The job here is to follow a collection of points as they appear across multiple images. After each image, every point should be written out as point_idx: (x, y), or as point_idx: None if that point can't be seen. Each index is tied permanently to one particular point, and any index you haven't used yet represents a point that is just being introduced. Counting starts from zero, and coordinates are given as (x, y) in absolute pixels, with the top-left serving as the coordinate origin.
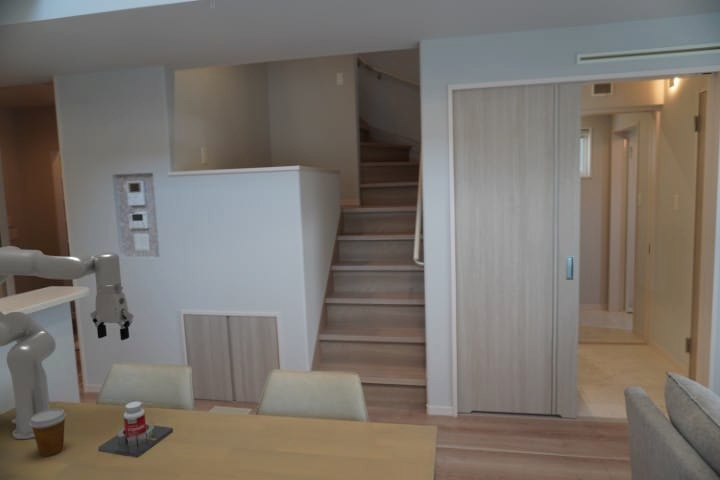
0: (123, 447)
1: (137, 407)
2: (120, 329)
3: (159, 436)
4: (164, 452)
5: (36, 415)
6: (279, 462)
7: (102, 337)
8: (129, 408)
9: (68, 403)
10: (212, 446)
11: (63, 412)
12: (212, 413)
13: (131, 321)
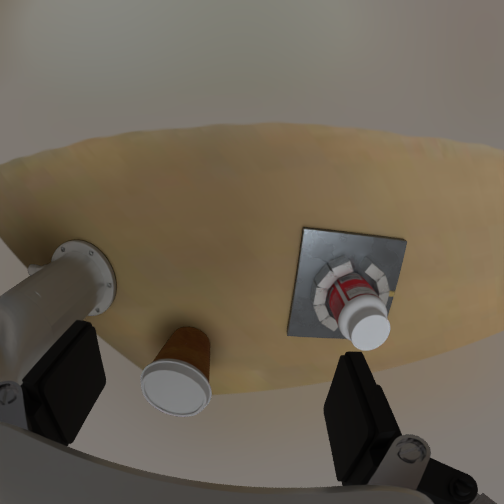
0: None
1: (385, 337)
2: (349, 485)
3: (394, 279)
4: (416, 311)
5: (146, 392)
6: None
7: (99, 357)
8: (369, 348)
9: (43, 154)
10: (480, 277)
11: (199, 385)
12: (447, 146)
13: (473, 490)
